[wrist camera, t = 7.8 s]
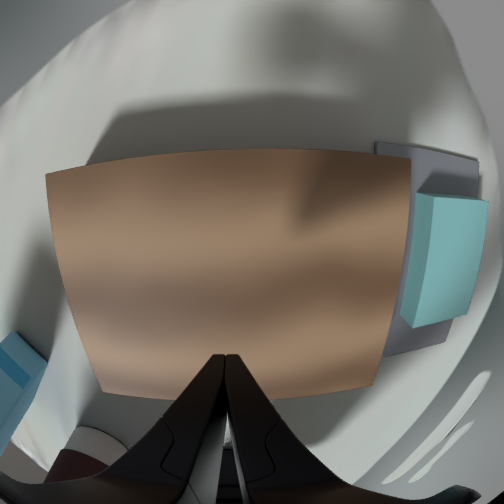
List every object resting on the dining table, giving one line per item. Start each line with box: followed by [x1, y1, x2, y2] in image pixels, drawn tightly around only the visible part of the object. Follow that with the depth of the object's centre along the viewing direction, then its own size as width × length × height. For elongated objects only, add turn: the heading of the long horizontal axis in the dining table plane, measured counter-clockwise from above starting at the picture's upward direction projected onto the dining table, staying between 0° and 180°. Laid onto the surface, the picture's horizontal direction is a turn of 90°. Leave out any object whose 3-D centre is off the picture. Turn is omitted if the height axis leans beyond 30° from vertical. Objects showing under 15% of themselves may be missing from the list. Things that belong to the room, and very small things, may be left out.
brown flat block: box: [45, 148, 411, 400], centre depth 15 cm, size 14×18×4 cm
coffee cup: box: [44, 426, 127, 483], centre depth 16 cm, size 10×10×15 cm
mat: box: [375, 142, 479, 357], centre depth 17 cm, size 16×10×1 cm, turn 1°
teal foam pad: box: [400, 192, 489, 328], centre depth 16 cm, size 9×6×2 cm, turn 2°
